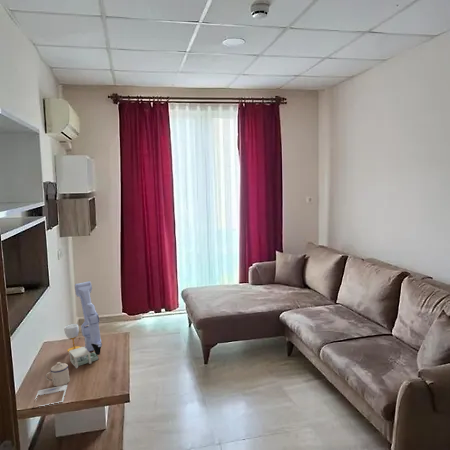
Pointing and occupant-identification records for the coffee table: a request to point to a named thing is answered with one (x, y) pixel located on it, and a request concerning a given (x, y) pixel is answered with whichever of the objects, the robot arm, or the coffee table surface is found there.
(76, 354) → the shelf
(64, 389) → the photo frame
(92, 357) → the tray
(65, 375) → the teacup with lid
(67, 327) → the cup
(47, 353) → the coffee table surface
